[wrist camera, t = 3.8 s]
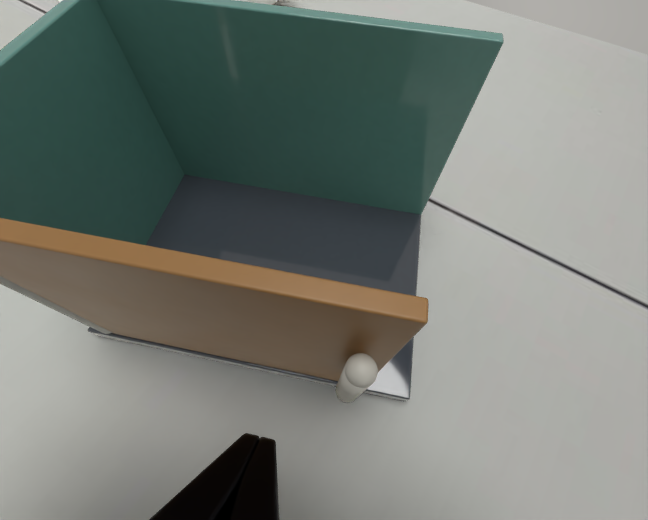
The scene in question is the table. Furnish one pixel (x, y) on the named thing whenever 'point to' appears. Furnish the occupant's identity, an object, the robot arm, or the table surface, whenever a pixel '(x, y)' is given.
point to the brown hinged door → (213, 304)
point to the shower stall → (239, 136)
